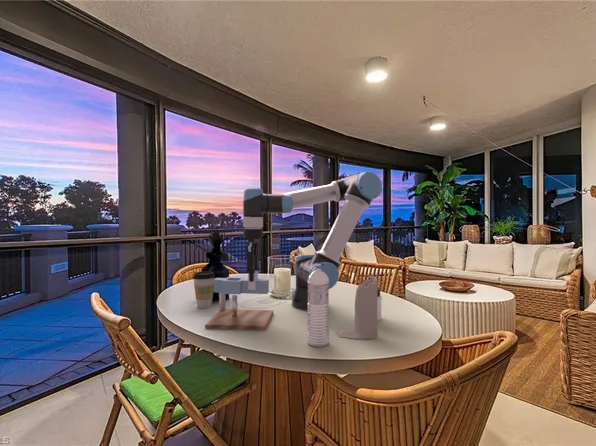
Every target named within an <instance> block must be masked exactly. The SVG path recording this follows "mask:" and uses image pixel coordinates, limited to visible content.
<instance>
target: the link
mask: <svg viewBox="0 0 596 446" xmlns="http://www.w3.org/2000/svg"><path fill="white" fill-rule="evenodd" d="M269 282H270V279H269V278H258V279H256V290H248V278H245V277H236V276H235V277H234V276H233V277H231V276H229V277H227V278H216V279H214V292H220V293H222V294H229V295H241V294H247V295H248V294H251V295H254V294H255V295H268V293H269V291H270V289H269V287H270V286H269V284H270V283H269Z"/></svg>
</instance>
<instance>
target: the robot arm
mask: <svg viewBox="0 0 596 446" xmlns="http://www.w3.org/2000/svg"><path fill="white" fill-rule="evenodd" d="M382 190H383V183H382V181H381V178H380V177H379V175H378V174H376V173H375V172H372V171H363V172H360V173H356V174H352V175H349V176H347V177H344V178H341V179H337V180H334V181H331V183H330V184H326V185H325V184H324V185H319V186H314V187H309V188H304V189H300V190H294V191H289V192H284V193H280V194H278V193H277V194H276V193H264V191H263V189H262V188H260V187H259V188H258V187H256V188H255V187H248V188H247V187H246V188H245V189H244V190H243V197H242V198H243V199H242V210H243V211H242V212H243V213H242V216H243V219H242V220H241V222H242V223H243V230H242V231H243V233H242V236H243V239H246V240H248V241H247V244H246V247H245V250H246V252H245V253H246V271H245V273H246V274H248V277H247V279H248V290H256V279H259V276H258V275H259V271H261V268H260V243H259V241H258V239H259V240H260V239H263V238H264V230H263V227H264V214H269V215H270V214H290V213H291V212H292V211H293V209H297V208H302V207H308V206H313V205H317V204H322V203H326V202H332V201H334V202H342V201H344V203H343V204H342V207H341V209H340V211H339V213H338V215H337V217H336V219H335V220H334V223H333V225H332V227H331V228H330V231H329V233H328V234H327V237H326V238H325V241H324V243H323V245H322V247H321V249H319V250H316V251H315V252H314V254H298V255H297V256H295V263H294V264H295V289H294V293H293V296H292V300H291V306H292V307H293V308H296V309H300V310H308V282H307V281H308V280H307V279H308V277H309V275H310V274H311V273H312V272H313V271H315V270H316V269H315V265H321V270H322V271H323V272H324V273H325V274H326V275H327V276H328V278H329V284H328V286H329V290H330V289H332V288H333V287H335V286H336V285H337V283H338V281H339V277H340V274H339V268H340V266H341V261H340V258H341V256H342V254H343V253H344V250H345V248H346V246H347V244H348V241H349V240H350V238H351V235H352V234H353V232H354V230H355V228H356V225H357V224H358V222H359V219H360V217H361V216H362V213H363V212H364V210H365V209H369V207H370V205H371V204H372V202H373V200H375V199H376V198H378V197H380V195H381V193H382Z"/></svg>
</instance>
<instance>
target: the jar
mask: <svg viewBox="0 0 596 446" xmlns="http://www.w3.org/2000/svg"><path fill="white" fill-rule="evenodd" d="M377 302H378V307H377V322H379V321H382V296H381V288H379V287H377Z"/></svg>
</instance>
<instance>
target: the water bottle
mask: <svg viewBox="0 0 596 446" xmlns="http://www.w3.org/2000/svg"><path fill="white" fill-rule="evenodd" d="M315 269H316V270H315V271H313V272H312V273H311V274H310V275H309V277H308V279H307V280H308V281H307V282H308V309H307V344H309V346H311V347H316V348H323V347H326V346H328V344H329V340H330V321H329V320H330V302H329V300H330V298H329V295H330V294H329V290H330V289H329V286H328V284H329V278H328V276H327V275H326V274H325V273H324V272H323V271H322V270H321V265H315Z"/></svg>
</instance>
